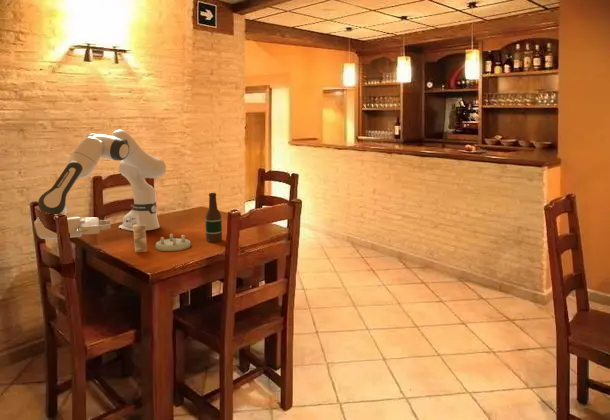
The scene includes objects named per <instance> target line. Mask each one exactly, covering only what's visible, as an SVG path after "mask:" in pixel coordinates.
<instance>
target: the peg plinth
mask: <svg viewBox="0 0 610 420" xmlns="http://www.w3.org/2000/svg"><path fill="white" fill-rule="evenodd" d="M180 236H181V237H180V238H177V237H176V238H174V233H170V234H169V238H167V239H165V237H164V236H161V237H160V240H159V241H157V242H155V249H156V250H158V251H159V252H177V251H178V252H179V251H184V250H187V249H189V248H190V247H191V240H189V239H187V238H186V235H185V234H182V235H180Z"/></svg>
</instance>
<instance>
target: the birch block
mask: <svg viewBox="0 0 610 420" xmlns="http://www.w3.org/2000/svg"><path fill="white" fill-rule="evenodd" d="M132 232H133V241H134V242H133V245H134V251H135V253H142V252H145V253H146V252H148V247H147V246H148V245H147V230H146V227H145V224H135V225H133V231H132Z"/></svg>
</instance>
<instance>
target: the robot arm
mask: <svg viewBox="0 0 610 420" xmlns="http://www.w3.org/2000/svg"><path fill="white" fill-rule="evenodd" d="M102 158H103V159H107V160H113V161H120V162H119V164H118V170H119V172H120V174H121V176H123V177H124V178H125V179H126V180H127V181H128V183H129V185H130V186H131V188H132V192H133V203H132V204H130V208H131V207H132V208H131V210H130V211H129V212H127V214H125V215H124V216H123V218H122V224H120V225H118V229H120V228H121V230H126V231H130V232H131V231H132V232H133V225H135V224H145V227H146V231H152V230H157V229H159V228H161V226H160V224H159V220H158V215H157V202H156V193H155V187H153V185H151V184H149V183H148V182H147V181H146V179H156V178H161V177H163V176H165V174H166V171H167V165H166V162H165V161H164V160H163V159H161V158H158V157H155V156H153V155H152V154H150V153H148V152H147V151H145V150H144V149H143V148H142V147H141V146H140V145H139V144H138V142H136V140H135V138H133V137H132V135H131V134H130V133H128V132H127V131H126V130H123V129H117V130H114V131H113V132H112V133H111V134H110V135H109V134H108V135H107V134H102V133H97V132H92V133H89V134H87V135H86V136H85V138H83V139H82V140H81V141H80V143H78V145H77V146H76V147H75V149H74V150H73V152H72V153H71V155H70V157H69V158H68V160H67V162H66V165H65V168H64V169H63V170H62V172H61V174H60V175H59V177H58V178H57V180H56V181H55V182H54V184H53V186H52V187H51V188H50V189H48V190H47V191H45V192H43V194H42V195H40V196H39V199H38V203H37V206H38V209H39V210H40V212H41V211H42V212H43V213H45V212H47V213H51V214H63V215H66V217H67V212H68V207H67V202H66V199H67V196H68V194H69V192H70V191H71V189H72V188H73V186H74V185H75V183H76V182H77V181H78V180H80V179H85V178H88V177H89V175H91V174H92V172H93V171H94V170H95V168H96V166H97V164H99V163H98V162H99V161H100V159H102ZM67 220H68V227H69V233H70V238H80V237H82V235H97V234H100V231H104V230H110V229H111V227H112V225H111V221H110V220H104V219H99V217H94V216H93V217H92V216H91V217H89V216H88V217H87V216H86V217H82V216H71V217H67ZM33 229H34V231H35V235H36V236H37V237H38V238H39V239H43V240H52V239H53V240H54V239H55V240H56V239H57V235H56V233H54V232H52V231H50V230H48V229H46V228H45V227H44V225H43V224H42V222H41V221H40V219H39V217H38V216H37V218H36V220H34V221H33Z"/></svg>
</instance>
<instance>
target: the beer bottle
mask: <svg viewBox="0 0 610 420" xmlns="http://www.w3.org/2000/svg"><path fill="white" fill-rule="evenodd" d="M208 199H209V200H208V210H207V211H206V213H205V218H204V219H205V238H206V242H208V243H218V242H219V243H220V242H221V241H222V240H223V227H222V226H223V225H222V215H221V212H220V211H219V209H218V204H217V193H216V192H209V194H208Z"/></svg>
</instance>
